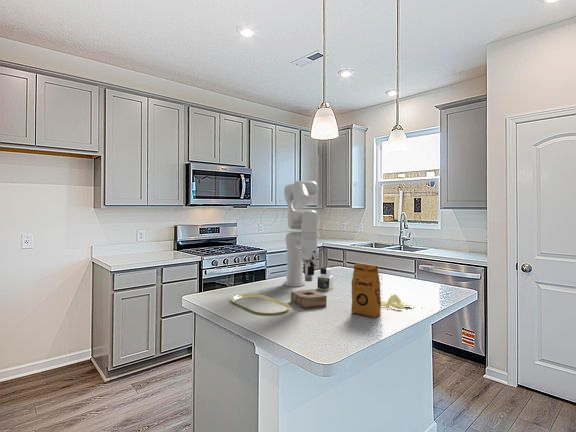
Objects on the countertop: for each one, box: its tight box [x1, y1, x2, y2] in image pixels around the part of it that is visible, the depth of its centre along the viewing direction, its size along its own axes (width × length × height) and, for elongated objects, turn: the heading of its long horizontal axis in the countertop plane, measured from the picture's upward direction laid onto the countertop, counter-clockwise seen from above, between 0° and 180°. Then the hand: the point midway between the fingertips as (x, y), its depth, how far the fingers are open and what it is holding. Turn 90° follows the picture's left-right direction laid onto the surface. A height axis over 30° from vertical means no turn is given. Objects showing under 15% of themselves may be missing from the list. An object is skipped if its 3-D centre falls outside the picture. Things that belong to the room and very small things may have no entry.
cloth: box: [381, 293, 412, 309], centre depth 164 cm, size 22×19×6 cm
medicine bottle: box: [317, 266, 334, 291], centre depth 199 cm, size 7×7×12 cm
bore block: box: [290, 288, 327, 310], centre depth 167 cm, size 14×12×5 cm
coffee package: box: [351, 263, 382, 318], centre depth 152 cm, size 10×12×22 cm
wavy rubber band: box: [231, 293, 291, 316], centre depth 165 cm, size 19×35×2 cm, turn 38°
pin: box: [304, 260, 313, 282], centre depth 167 cm, size 4×4×10 cm
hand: (308, 273), depth 167 cm, fingers closed on pin, 3 cm apart
